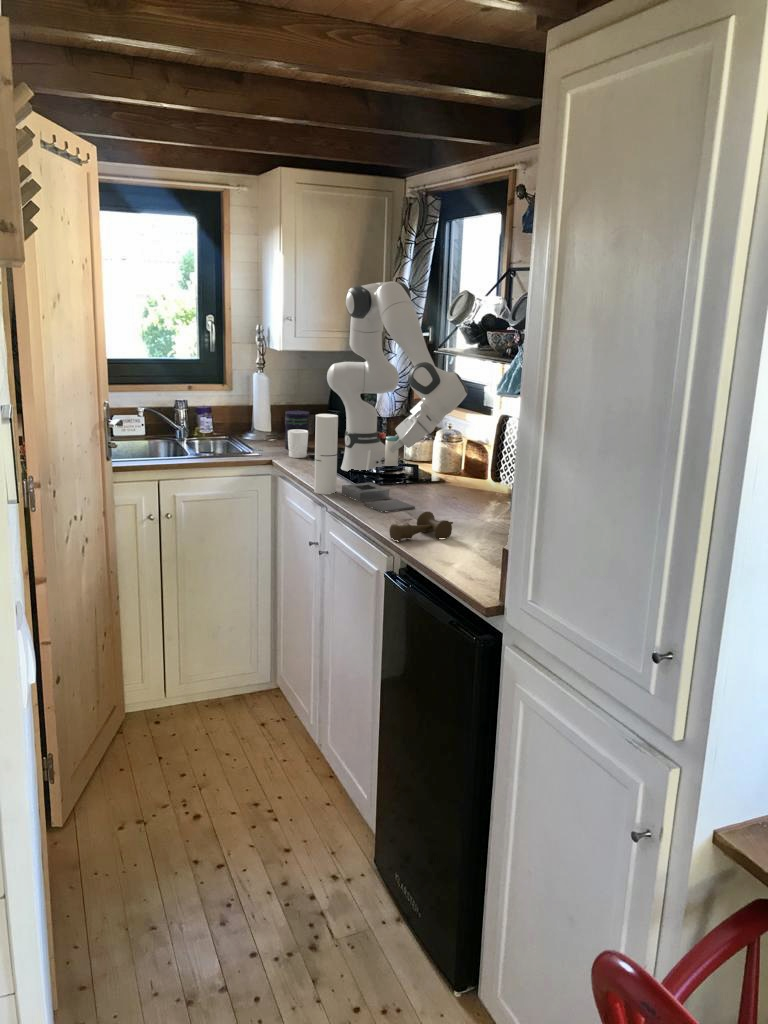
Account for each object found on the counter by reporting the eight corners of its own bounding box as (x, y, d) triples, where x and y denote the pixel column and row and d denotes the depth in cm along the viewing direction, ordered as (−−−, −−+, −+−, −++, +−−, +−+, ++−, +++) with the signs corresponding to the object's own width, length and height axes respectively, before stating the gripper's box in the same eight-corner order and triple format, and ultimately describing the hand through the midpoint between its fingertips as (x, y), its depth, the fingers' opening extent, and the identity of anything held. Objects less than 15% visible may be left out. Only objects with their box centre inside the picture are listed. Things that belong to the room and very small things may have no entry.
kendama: (383, 539, 228) (442, 528, 239) (402, 549, 220) (463, 537, 231) (383, 518, 226) (443, 507, 237) (403, 528, 219) (464, 517, 229)
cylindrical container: (333, 495, 270) (334, 417, 263) (311, 493, 271) (312, 416, 265) (338, 490, 277) (340, 414, 270) (317, 488, 278) (319, 413, 272)
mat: (396, 500, 266) (396, 499, 266) (414, 508, 258) (414, 506, 258) (364, 505, 260) (364, 503, 259) (382, 512, 252) (382, 510, 251)
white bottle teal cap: (393, 463, 258) (394, 435, 256) (400, 465, 255) (401, 438, 253) (382, 464, 256) (383, 436, 254) (389, 466, 253) (390, 438, 250)
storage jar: (281, 447, 344) (281, 410, 340) (303, 445, 349) (303, 410, 345) (290, 451, 336) (290, 414, 332) (312, 450, 340) (313, 413, 336)
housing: (370, 490, 277) (370, 482, 277) (388, 498, 269) (389, 489, 268) (341, 494, 271) (342, 485, 271) (359, 502, 263) (360, 492, 262)
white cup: (283, 455, 328) (283, 430, 325) (300, 453, 333) (300, 428, 330) (295, 459, 322) (295, 433, 319) (311, 457, 327) (312, 431, 324)
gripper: (412, 405, 262) (380, 435, 263) (420, 415, 242) (385, 447, 244) (426, 419, 263) (393, 449, 265) (435, 431, 243) (400, 463, 245)
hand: (389, 449), depth 254 cm, fingers closed on white bottle teal cap, 4 cm apart
